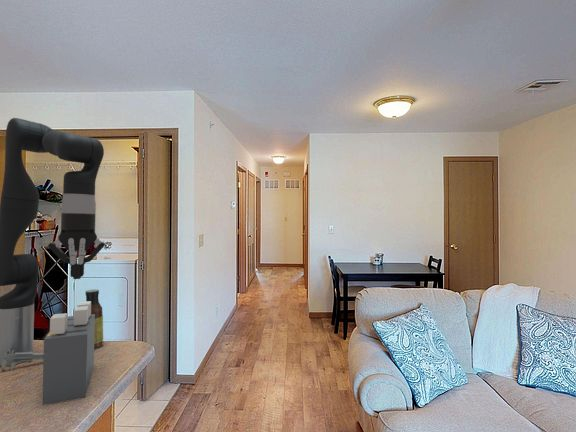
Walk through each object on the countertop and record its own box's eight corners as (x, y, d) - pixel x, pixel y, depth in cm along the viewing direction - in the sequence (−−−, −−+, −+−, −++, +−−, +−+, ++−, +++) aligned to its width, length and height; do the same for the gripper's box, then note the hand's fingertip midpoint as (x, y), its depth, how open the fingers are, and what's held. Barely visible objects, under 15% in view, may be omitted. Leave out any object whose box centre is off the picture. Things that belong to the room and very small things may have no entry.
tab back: (76, 319, 94) (77, 305, 94) (79, 315, 98) (79, 301, 98) (89, 318, 95) (89, 304, 95) (90, 314, 99) (91, 301, 99)
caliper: (1, 373, 96) (2, 351, 96) (1, 371, 96) (2, 350, 96) (83, 356, 108) (84, 337, 108) (83, 355, 109) (83, 336, 109)
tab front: (49, 334, 81) (50, 318, 81) (53, 329, 85) (53, 314, 85) (64, 333, 83) (64, 317, 83) (67, 328, 86) (67, 313, 86)
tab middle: (73, 325, 88) (73, 310, 89) (75, 321, 92) (76, 307, 92) (86, 324, 90) (86, 309, 90) (88, 320, 93) (88, 306, 93)
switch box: (42, 405, 79) (44, 338, 80) (58, 371, 97) (59, 316, 97) (85, 397, 83) (87, 333, 83) (93, 366, 100) (95, 313, 101)
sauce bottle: (102, 342, 120) (104, 287, 120) (103, 348, 114) (104, 291, 115) (81, 345, 116) (83, 289, 117) (81, 351, 111) (82, 292, 111)
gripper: (108, 212, 92) (107, 274, 92) (51, 211, 86) (49, 277, 86) (106, 212, 85) (104, 279, 85) (44, 211, 79) (42, 282, 79)
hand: (77, 278), depth 85 cm, fingers closed
